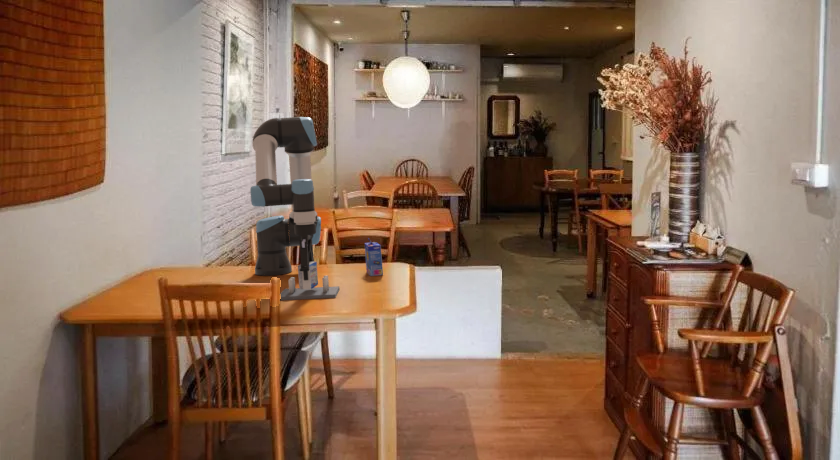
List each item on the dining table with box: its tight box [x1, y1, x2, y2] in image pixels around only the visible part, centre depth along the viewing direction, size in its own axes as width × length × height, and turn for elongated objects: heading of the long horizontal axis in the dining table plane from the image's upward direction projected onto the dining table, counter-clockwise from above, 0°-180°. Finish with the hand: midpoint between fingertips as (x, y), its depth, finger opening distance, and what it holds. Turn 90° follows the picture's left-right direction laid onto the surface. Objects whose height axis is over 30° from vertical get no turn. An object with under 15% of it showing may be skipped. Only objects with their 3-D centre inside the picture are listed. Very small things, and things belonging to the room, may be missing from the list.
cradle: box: [280, 275, 340, 301], centre depth 277 cm, size 14×20×6 cm
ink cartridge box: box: [364, 237, 384, 277], centre depth 312 cm, size 10×6×14 cm, turn 13°
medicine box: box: [297, 260, 319, 289], centre depth 277 cm, size 8×4×9 cm, turn 168°
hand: (308, 286), depth 277 cm, fingers closed on medicine box, 8 cm apart
